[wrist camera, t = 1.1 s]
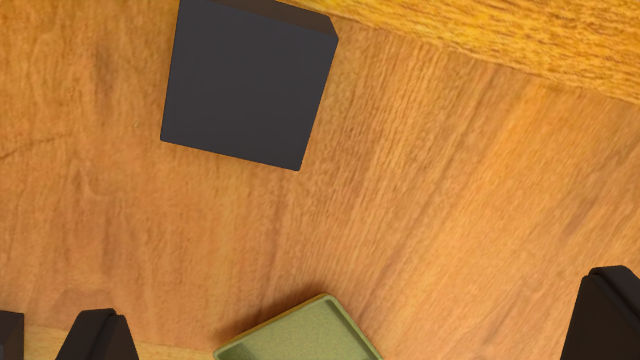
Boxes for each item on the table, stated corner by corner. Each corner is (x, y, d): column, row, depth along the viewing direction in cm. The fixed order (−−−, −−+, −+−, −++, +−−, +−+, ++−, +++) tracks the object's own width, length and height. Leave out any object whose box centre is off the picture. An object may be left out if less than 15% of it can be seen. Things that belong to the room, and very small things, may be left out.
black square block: (199, -22, 21) (180, -8, 17) (329, 16, 22) (339, 37, 19) (179, 104, 24) (159, 141, 20) (296, 132, 25) (299, 172, 21)
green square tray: (213, 329, 31) (208, 355, 30) (328, 270, 30) (332, 294, 28) (285, 401, 35) (286, 428, 33) (392, 353, 34) (398, 378, 32)
